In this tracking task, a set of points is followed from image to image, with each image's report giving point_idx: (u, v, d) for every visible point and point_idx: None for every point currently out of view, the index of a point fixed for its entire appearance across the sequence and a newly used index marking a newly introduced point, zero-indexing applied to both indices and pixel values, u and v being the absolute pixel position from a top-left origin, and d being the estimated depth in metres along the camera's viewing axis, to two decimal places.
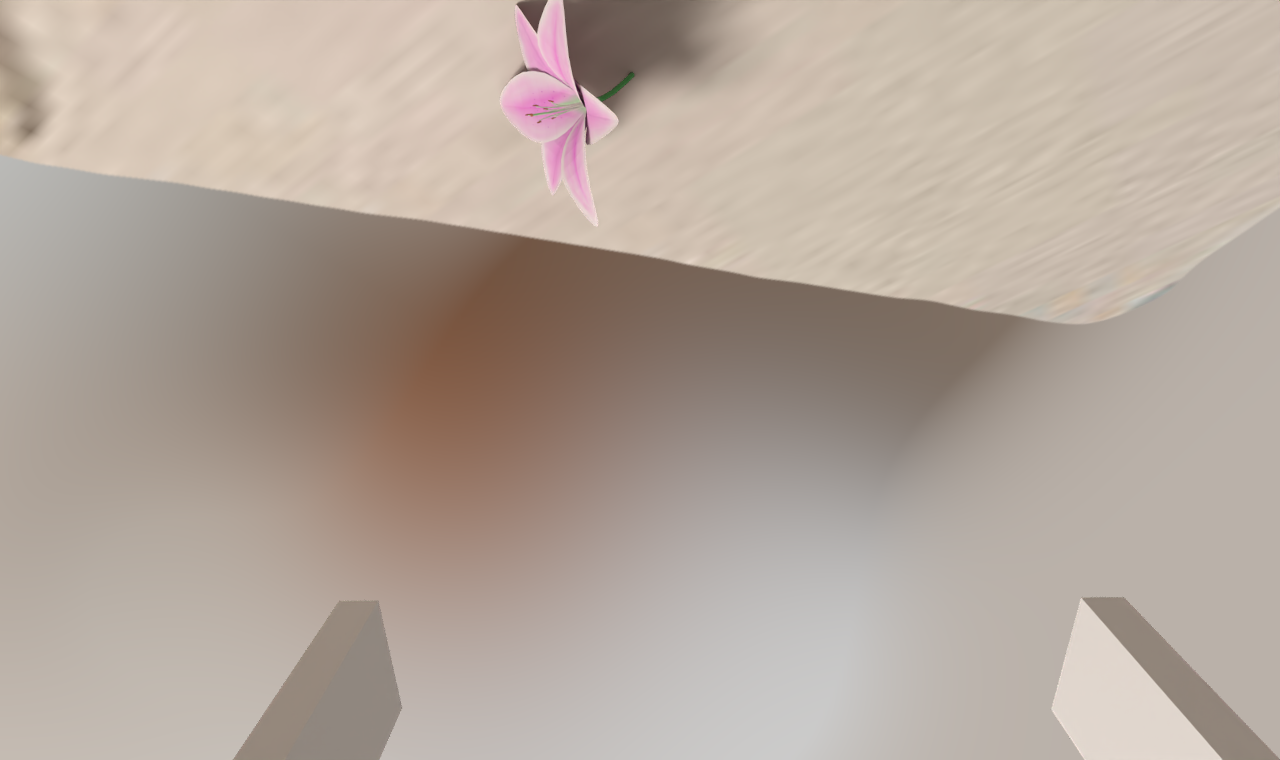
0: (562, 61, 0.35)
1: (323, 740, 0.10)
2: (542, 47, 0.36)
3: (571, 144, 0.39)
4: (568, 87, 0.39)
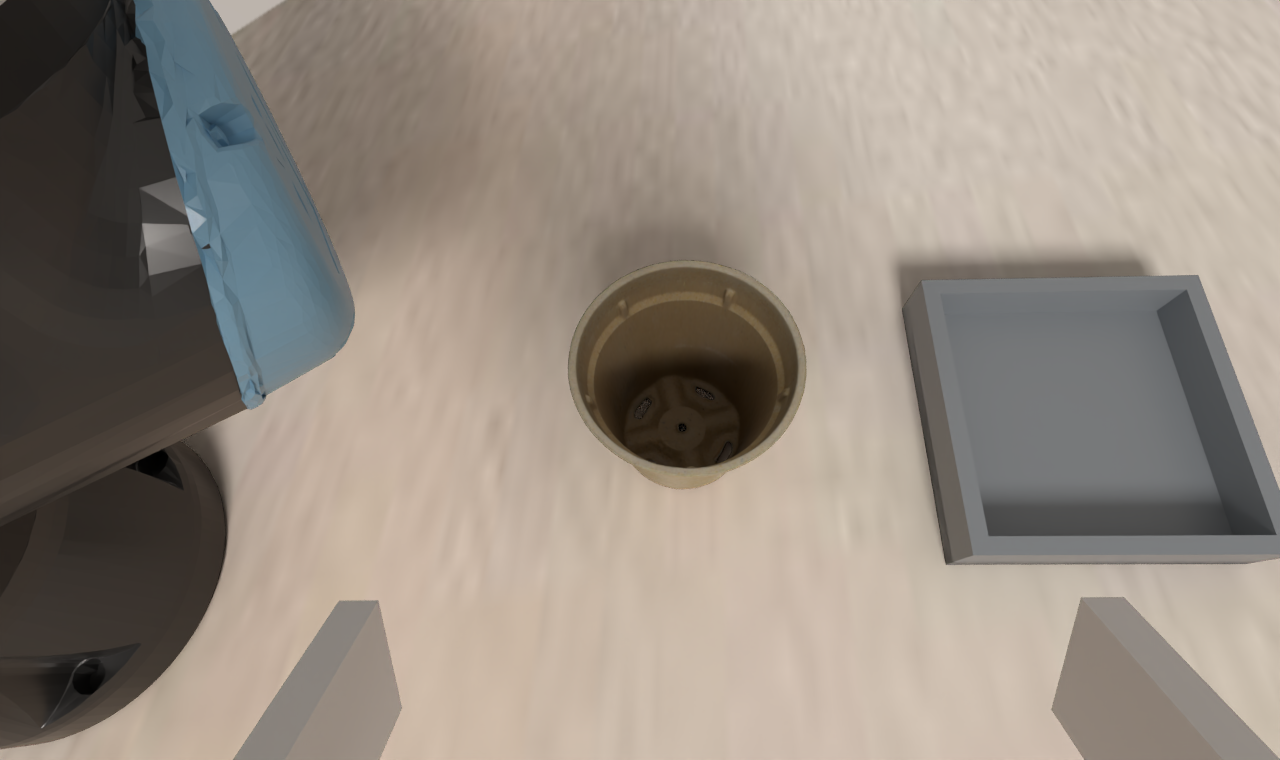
0: None
1: (323, 740, 0.10)
2: None
3: None
4: None
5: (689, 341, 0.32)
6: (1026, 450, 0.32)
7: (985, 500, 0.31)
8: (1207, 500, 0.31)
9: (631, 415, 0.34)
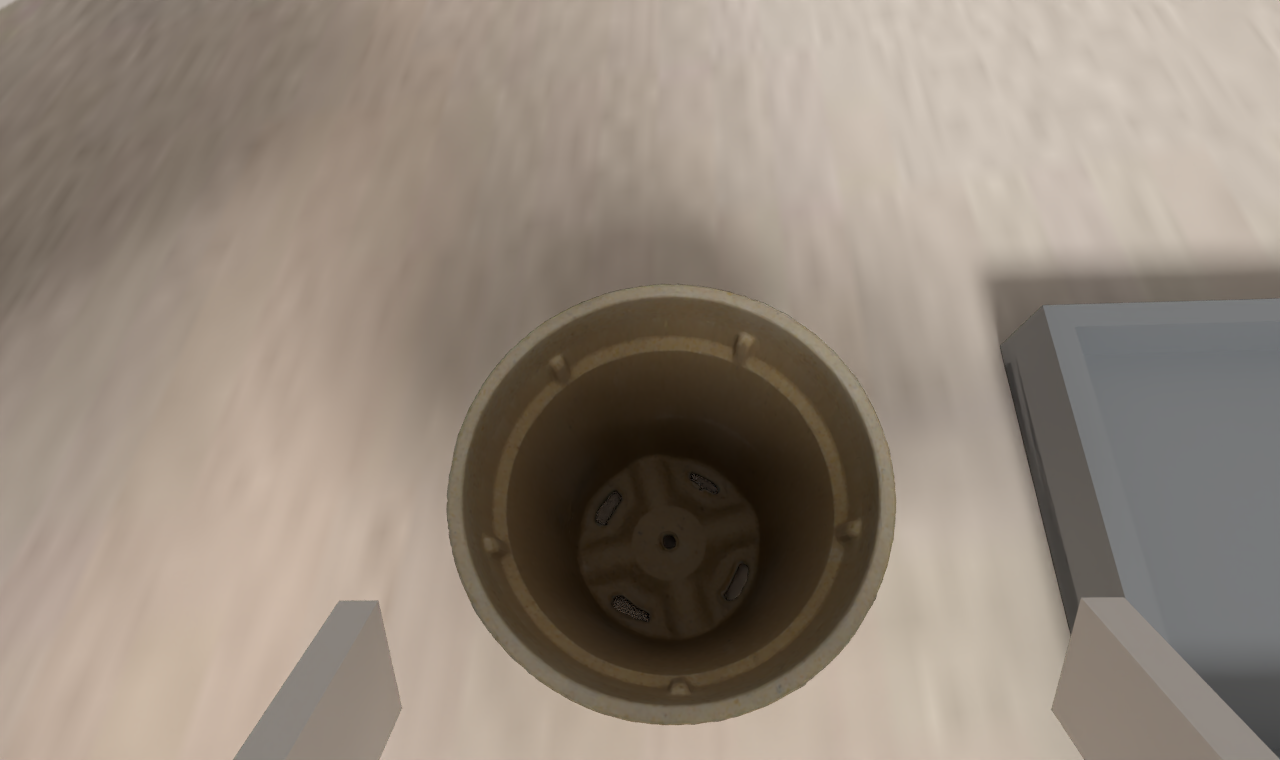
0: None
1: (323, 740, 0.10)
2: None
3: None
4: None
5: (678, 410, 0.20)
6: (1224, 580, 0.20)
7: None
8: None
9: (590, 520, 0.22)
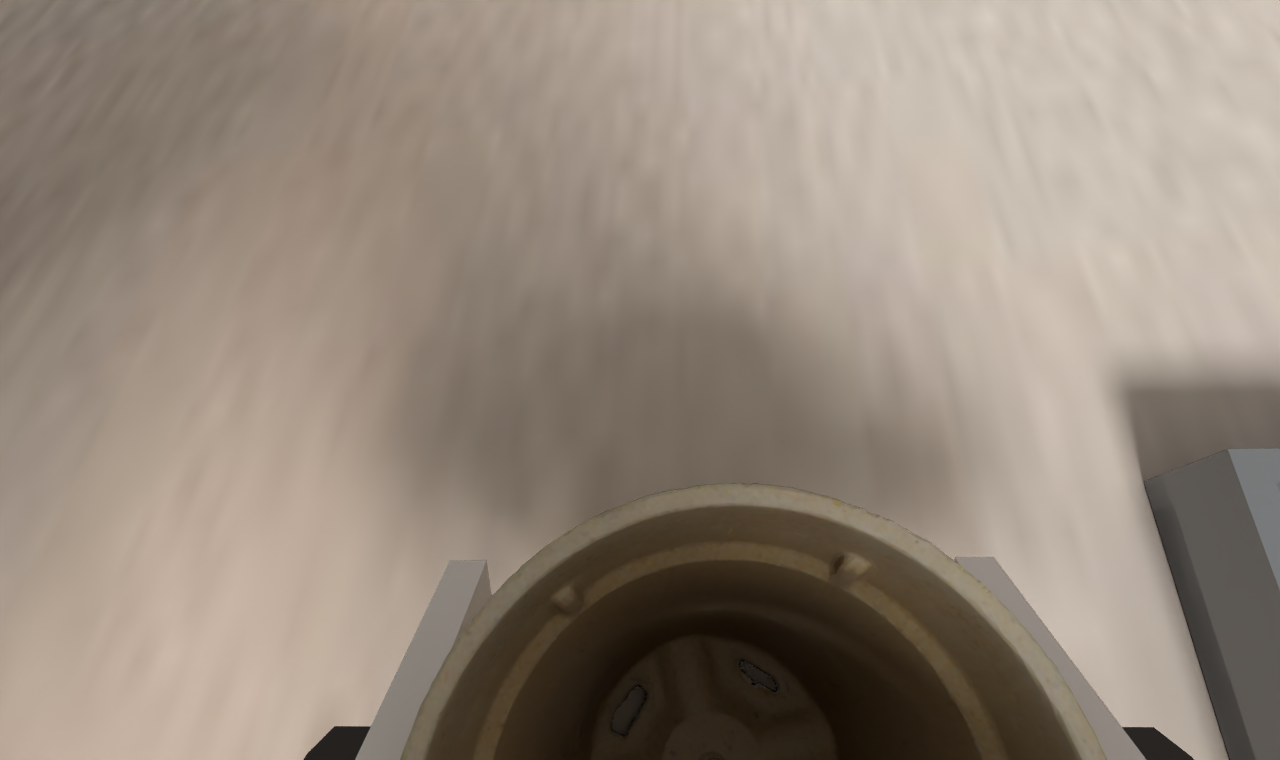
0: None
1: None
2: None
3: None
4: None
5: (732, 604, 0.14)
6: None
7: None
8: None
9: (604, 729, 0.16)
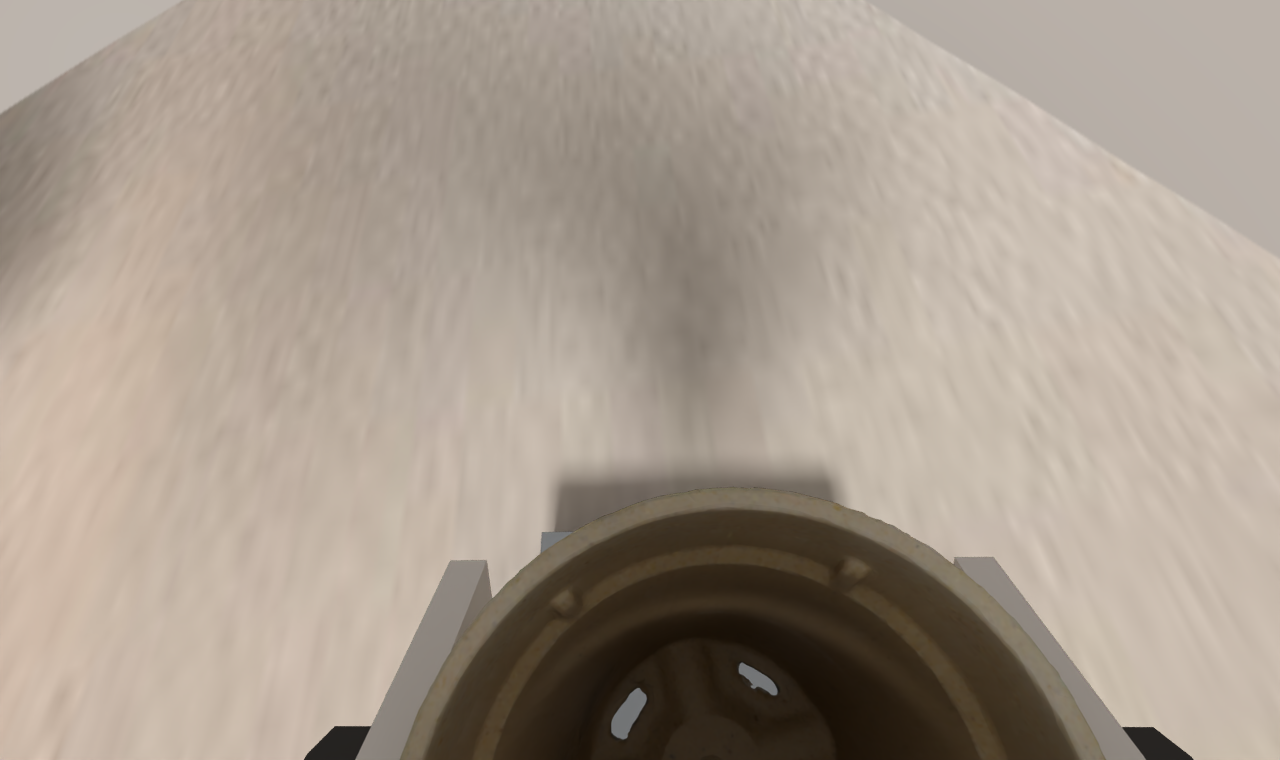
0: None
1: None
2: None
3: None
4: None
5: (732, 608, 0.14)
6: None
7: None
8: None
9: (604, 732, 0.16)
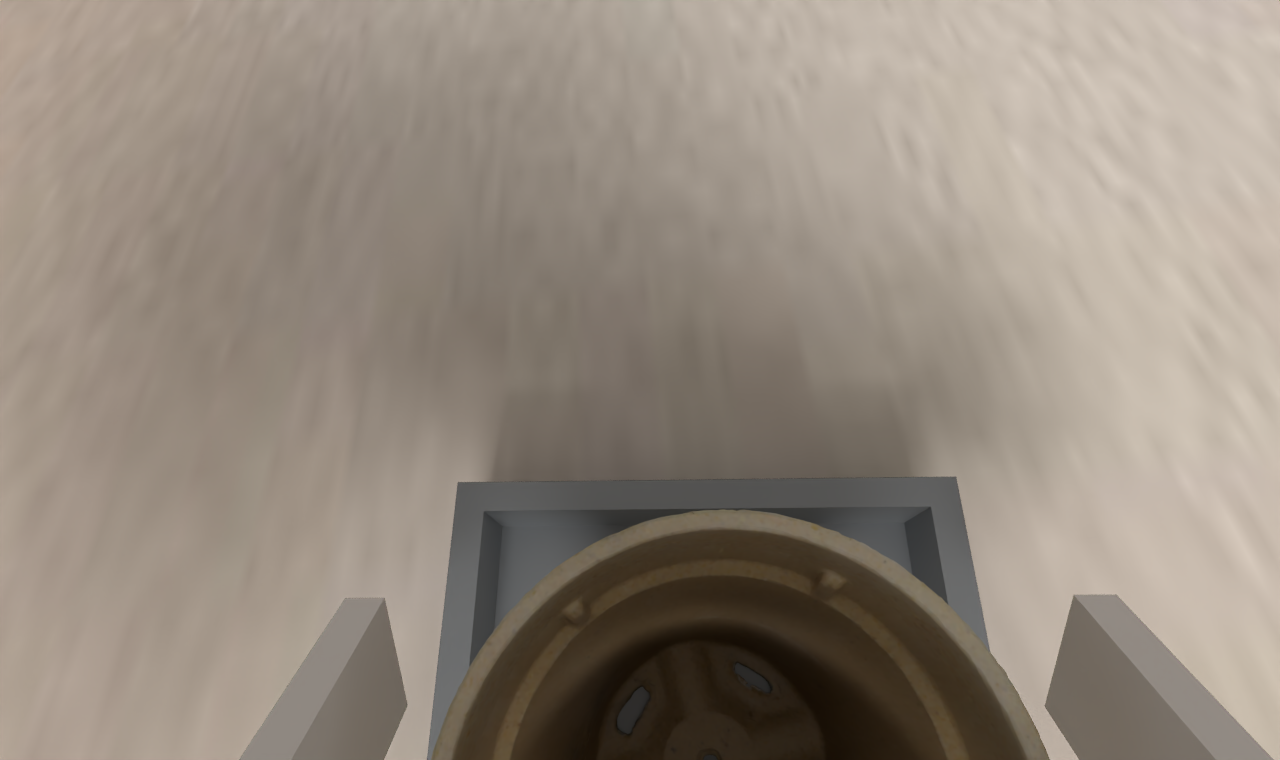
0: None
1: (331, 736, 0.10)
2: None
3: None
4: None
5: (726, 613, 0.15)
6: None
7: None
8: None
9: (610, 728, 0.18)
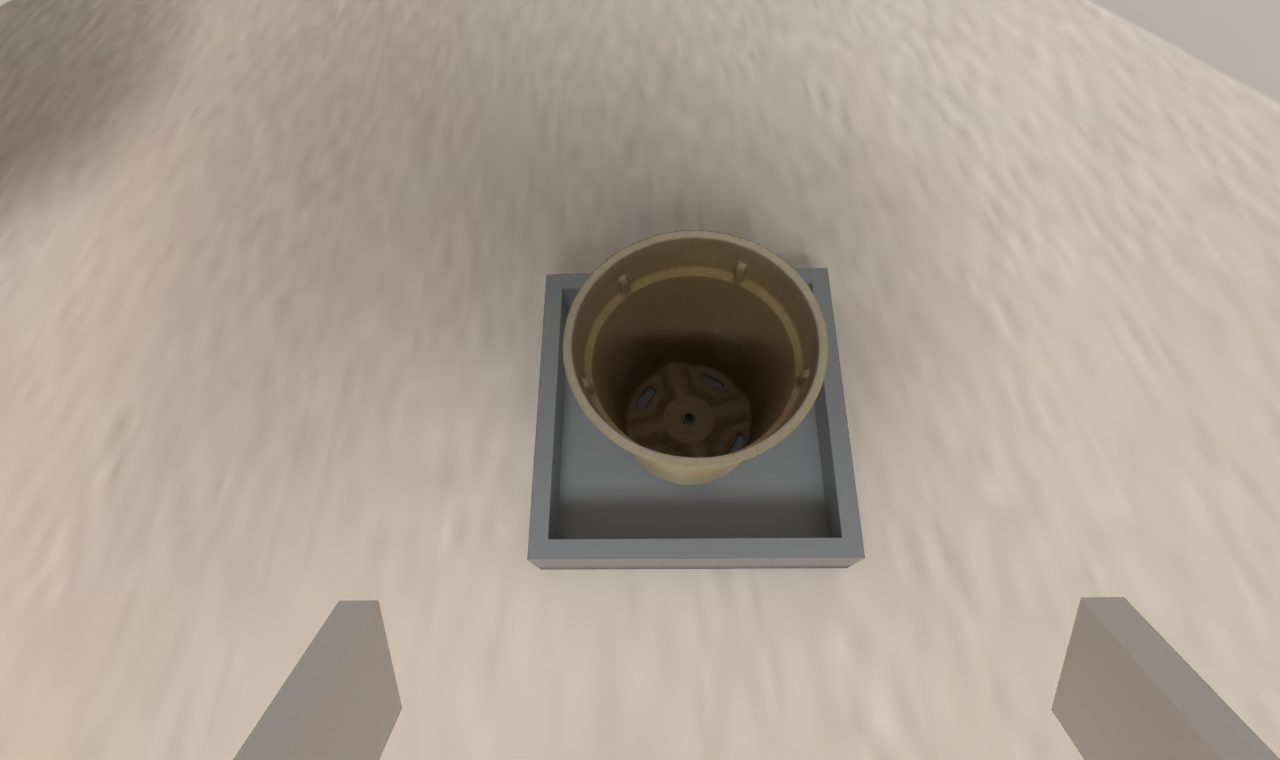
0: None
1: (323, 740, 0.10)
2: None
3: None
4: None
5: (696, 323, 0.29)
6: None
7: (585, 502, 0.30)
8: (811, 501, 0.30)
9: (633, 405, 0.32)
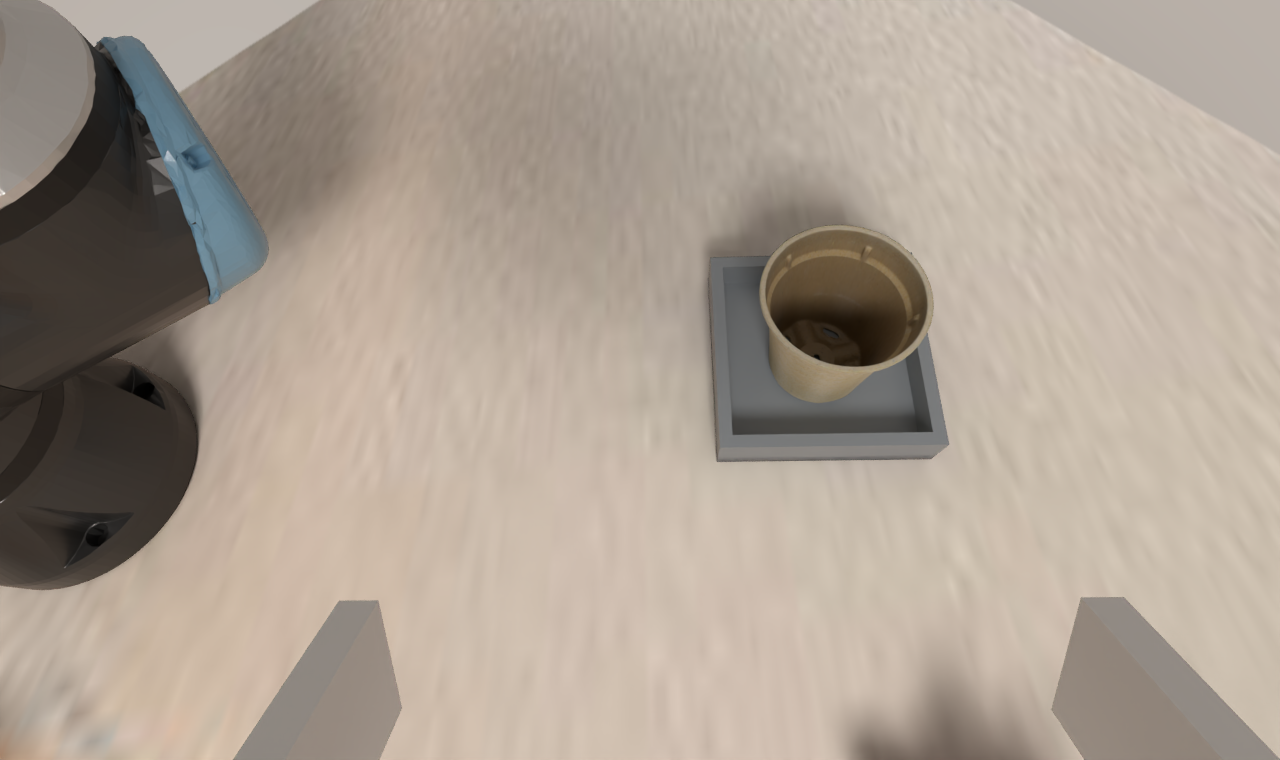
0: None
1: (323, 740, 0.10)
2: None
3: None
4: None
5: (826, 290, 0.42)
6: None
7: (746, 415, 0.43)
8: (905, 414, 0.43)
9: None
